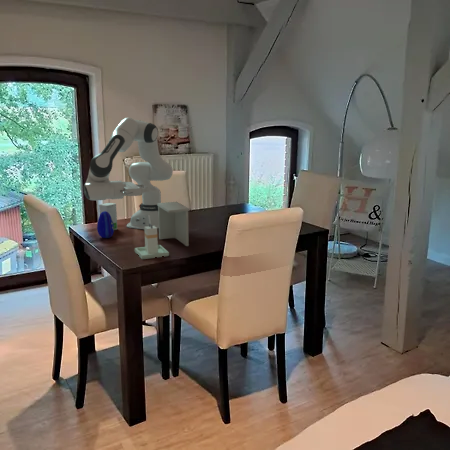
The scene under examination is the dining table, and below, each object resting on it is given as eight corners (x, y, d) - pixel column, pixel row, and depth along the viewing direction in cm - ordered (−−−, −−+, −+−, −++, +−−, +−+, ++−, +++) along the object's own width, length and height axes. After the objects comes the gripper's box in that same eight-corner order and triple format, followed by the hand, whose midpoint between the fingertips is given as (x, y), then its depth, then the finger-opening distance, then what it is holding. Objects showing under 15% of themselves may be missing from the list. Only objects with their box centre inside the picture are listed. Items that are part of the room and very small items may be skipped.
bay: (169, 248, 253) (168, 210, 248) (158, 239, 270) (157, 203, 265) (189, 246, 258) (189, 208, 253) (177, 236, 275) (176, 201, 270)
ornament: (114, 239, 268) (113, 213, 264) (97, 240, 266) (95, 213, 263) (114, 234, 279) (113, 208, 275) (98, 235, 277) (96, 209, 273)
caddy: (148, 254, 241) (147, 226, 238) (145, 251, 246) (144, 223, 242) (157, 253, 243) (157, 225, 240) (154, 250, 248) (154, 222, 244)
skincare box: (107, 232, 284) (106, 205, 280) (99, 230, 287) (98, 204, 283) (118, 229, 291) (116, 203, 287) (109, 227, 294) (108, 202, 290)
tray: (142, 259, 236) (141, 255, 235) (134, 251, 248) (134, 248, 247) (168, 255, 241) (168, 252, 241) (160, 248, 253) (160, 244, 253)
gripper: (123, 186, 228) (151, 184, 234) (113, 180, 246) (140, 178, 252) (123, 200, 230) (152, 197, 235) (114, 192, 248) (141, 190, 253)
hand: (146, 187), depth 244 cm, fingers open, 8 cm apart
